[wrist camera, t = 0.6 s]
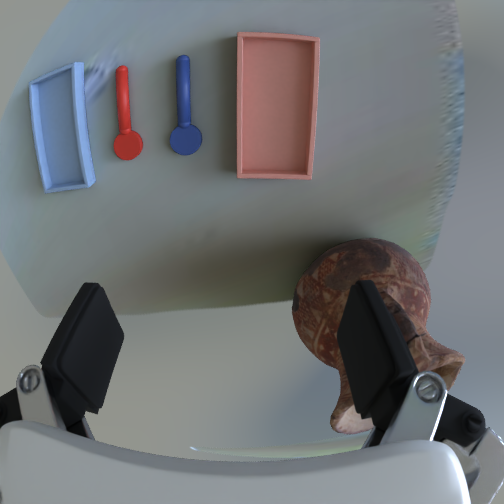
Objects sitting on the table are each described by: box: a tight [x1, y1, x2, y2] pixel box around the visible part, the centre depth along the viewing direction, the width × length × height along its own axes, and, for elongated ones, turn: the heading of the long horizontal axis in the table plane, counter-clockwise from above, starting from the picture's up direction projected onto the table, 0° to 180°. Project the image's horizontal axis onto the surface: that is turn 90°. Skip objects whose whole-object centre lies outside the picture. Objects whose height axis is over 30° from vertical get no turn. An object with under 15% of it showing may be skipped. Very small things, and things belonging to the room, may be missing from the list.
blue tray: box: [29, 62, 96, 194], centre depth 28 cm, size 18×9×2 cm, turn 179°
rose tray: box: [237, 32, 320, 180], centre depth 28 cm, size 18×9×2 cm, turn 179°
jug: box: [292, 238, 465, 434], centre depth 34 cm, size 22×21×25 cm
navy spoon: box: [170, 55, 202, 155], centre depth 28 cm, size 13×4×2 cm, turn 179°
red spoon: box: [114, 66, 143, 160], centre depth 28 cm, size 13×4×2 cm, turn 179°
